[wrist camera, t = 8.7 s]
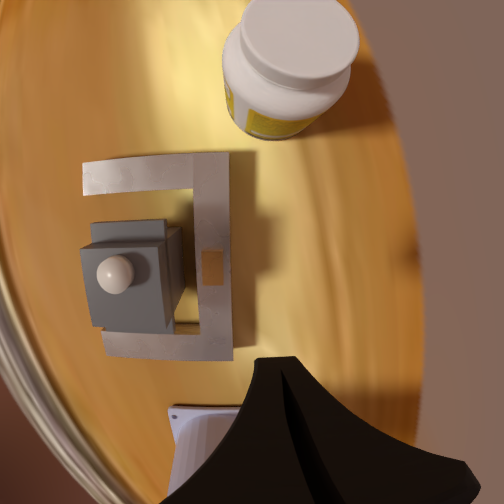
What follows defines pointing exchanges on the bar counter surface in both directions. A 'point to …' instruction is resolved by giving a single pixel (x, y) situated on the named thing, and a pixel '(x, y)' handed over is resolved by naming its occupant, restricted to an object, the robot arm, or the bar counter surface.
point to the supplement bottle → (287, 64)
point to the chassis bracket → (206, 250)
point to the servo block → (134, 275)
